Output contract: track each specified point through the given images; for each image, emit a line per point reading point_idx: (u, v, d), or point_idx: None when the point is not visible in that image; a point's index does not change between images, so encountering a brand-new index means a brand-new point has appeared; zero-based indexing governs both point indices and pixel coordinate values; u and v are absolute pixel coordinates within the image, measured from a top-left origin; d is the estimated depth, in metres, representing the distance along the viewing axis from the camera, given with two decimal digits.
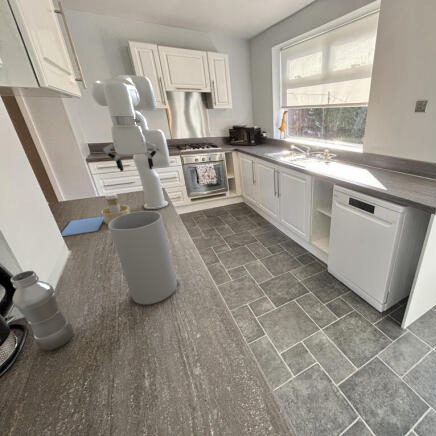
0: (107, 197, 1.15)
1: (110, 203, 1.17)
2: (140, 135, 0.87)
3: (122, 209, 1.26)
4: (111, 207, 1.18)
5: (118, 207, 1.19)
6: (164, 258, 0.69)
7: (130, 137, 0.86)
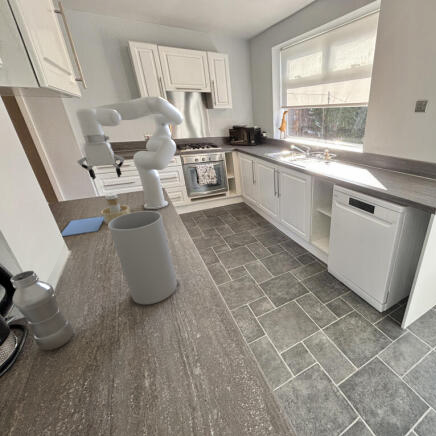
0: (107, 197, 1.15)
1: (110, 203, 1.17)
2: (108, 149, 1.07)
3: (122, 209, 1.26)
4: (111, 207, 1.18)
5: (118, 207, 1.19)
6: (164, 258, 0.69)
7: (100, 152, 1.06)
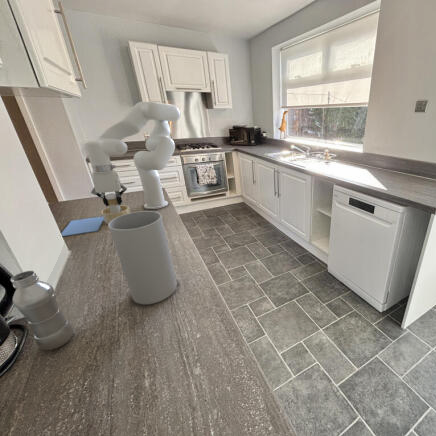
0: (107, 197, 1.15)
1: (110, 203, 1.17)
2: (114, 177, 1.13)
3: (122, 209, 1.26)
4: (111, 207, 1.18)
5: (118, 207, 1.19)
6: (164, 258, 0.69)
7: (107, 180, 1.12)
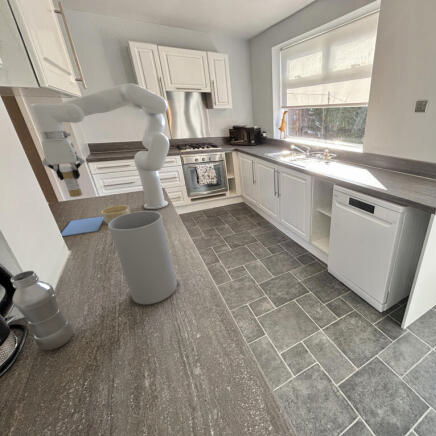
0: (61, 169, 1.03)
1: (65, 176, 1.05)
2: (68, 147, 1.01)
3: (122, 209, 1.26)
4: (66, 181, 1.05)
5: (75, 181, 1.07)
6: (164, 258, 0.69)
7: (59, 149, 1.00)
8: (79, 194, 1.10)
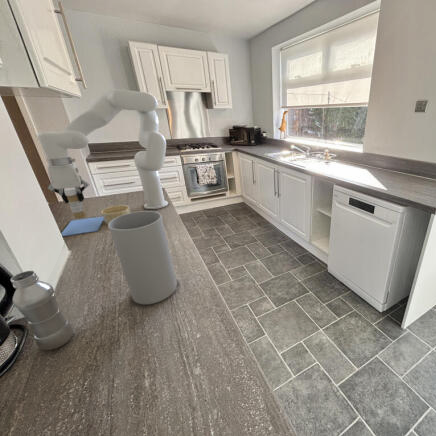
0: (66, 193, 1.07)
1: (70, 200, 1.08)
2: (73, 172, 1.05)
3: (122, 209, 1.26)
4: (71, 204, 1.09)
5: (79, 204, 1.11)
6: (164, 258, 0.69)
7: (65, 175, 1.04)
8: (83, 216, 1.13)
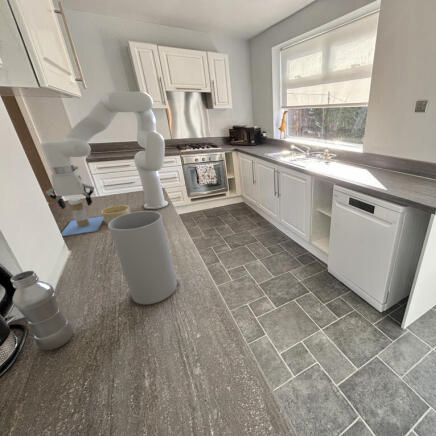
0: (70, 202, 1.09)
1: (73, 208, 1.10)
2: (76, 179, 1.07)
3: (122, 209, 1.26)
4: (75, 213, 1.11)
5: (83, 213, 1.13)
6: (164, 258, 0.69)
7: (68, 182, 1.06)
8: (86, 224, 1.15)
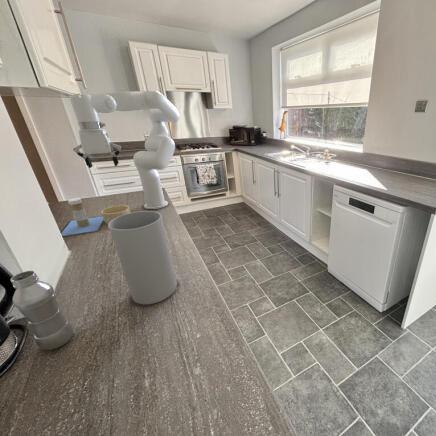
0: (70, 202, 1.09)
1: (73, 208, 1.10)
2: (104, 137, 1.03)
3: (122, 209, 1.26)
4: (75, 213, 1.11)
5: (83, 213, 1.13)
6: (164, 258, 0.69)
7: (95, 139, 1.02)
8: (86, 224, 1.15)
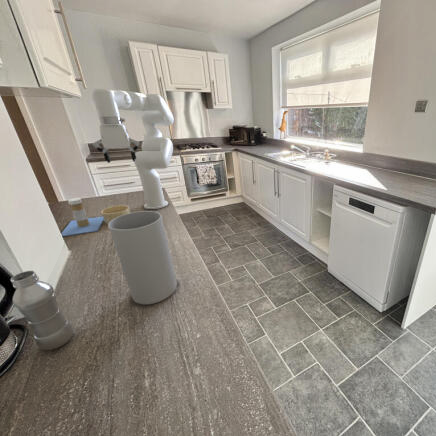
0: (70, 202, 1.09)
1: (73, 208, 1.10)
2: (123, 132, 1.04)
3: (122, 209, 1.26)
4: (75, 213, 1.11)
5: (83, 213, 1.13)
6: (164, 258, 0.69)
7: (115, 134, 1.03)
8: (86, 224, 1.15)
